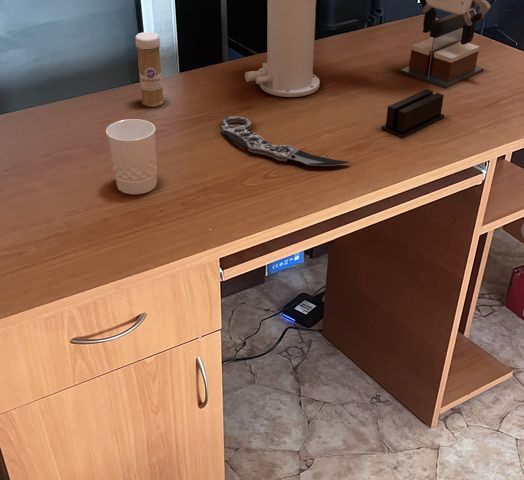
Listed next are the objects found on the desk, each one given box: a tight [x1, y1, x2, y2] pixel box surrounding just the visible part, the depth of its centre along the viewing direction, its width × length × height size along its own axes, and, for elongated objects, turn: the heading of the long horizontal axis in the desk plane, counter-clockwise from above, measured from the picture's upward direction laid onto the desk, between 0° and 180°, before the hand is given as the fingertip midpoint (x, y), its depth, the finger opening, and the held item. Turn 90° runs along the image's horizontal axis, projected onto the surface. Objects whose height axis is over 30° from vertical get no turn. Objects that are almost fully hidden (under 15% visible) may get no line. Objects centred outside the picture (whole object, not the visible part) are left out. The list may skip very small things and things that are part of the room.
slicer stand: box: [380, 88, 445, 139], centre depth 150 cm, size 13×5×5 cm, turn 134°
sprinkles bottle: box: [135, 31, 165, 108], centre depth 154 cm, size 5×5×13 cm
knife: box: [220, 115, 352, 167], centre depth 143 cm, size 28×2×10 cm
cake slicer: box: [428, 13, 466, 75], centre depth 168 cm, size 11×2×11 cm, turn 134°
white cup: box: [105, 118, 158, 195], centre depth 129 cm, size 8×8×10 cm
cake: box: [399, 37, 484, 89], centre depth 170 cm, size 14×12×6 cm
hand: (446, 37), depth 167 cm, fingers open, 9 cm apart
